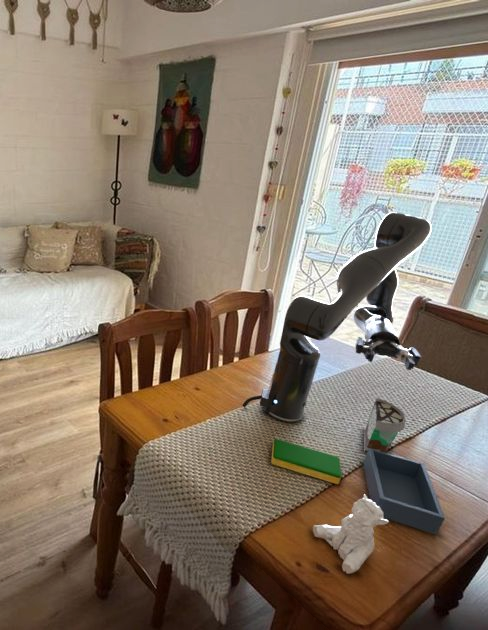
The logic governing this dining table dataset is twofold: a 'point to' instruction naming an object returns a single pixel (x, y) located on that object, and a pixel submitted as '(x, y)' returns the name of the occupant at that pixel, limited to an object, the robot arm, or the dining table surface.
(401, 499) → the blue open tray
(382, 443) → the food container
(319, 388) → the dining table surface
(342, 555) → the seated beast figurine
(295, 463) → the dish sponge
